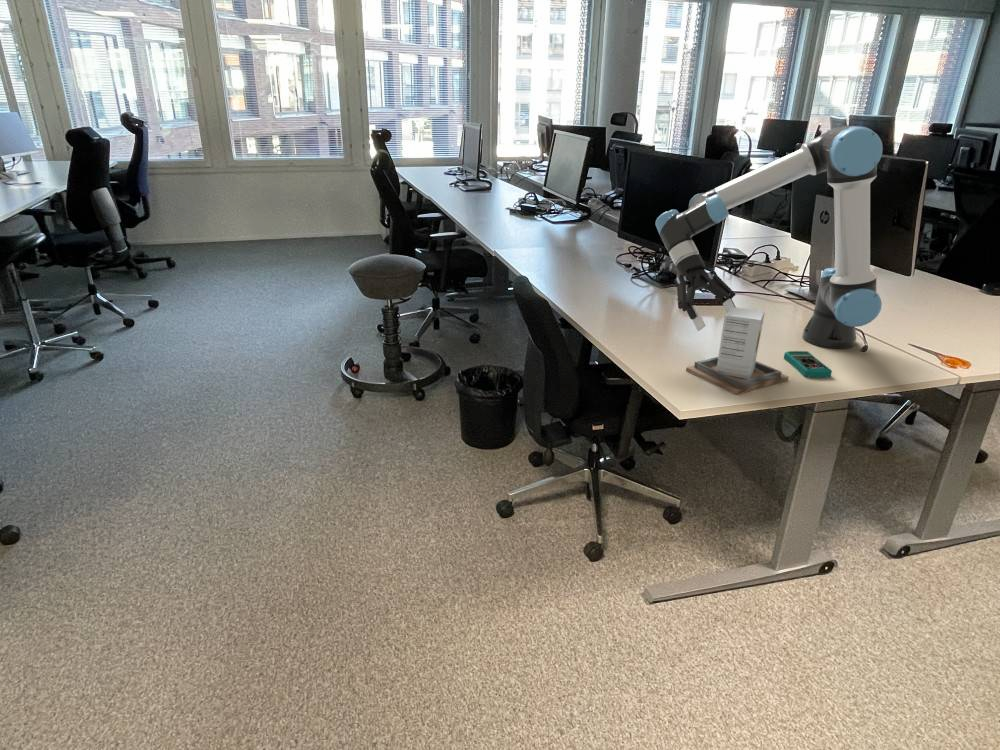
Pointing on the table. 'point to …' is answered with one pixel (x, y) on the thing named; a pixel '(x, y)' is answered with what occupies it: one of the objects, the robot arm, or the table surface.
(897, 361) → the table surface
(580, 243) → the table surface
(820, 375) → the digital multimeter
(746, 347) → the supplement box
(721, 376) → the carrier plate
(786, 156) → the robot arm
